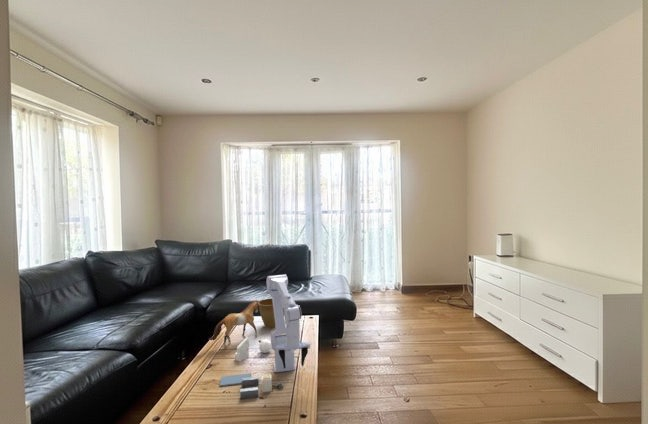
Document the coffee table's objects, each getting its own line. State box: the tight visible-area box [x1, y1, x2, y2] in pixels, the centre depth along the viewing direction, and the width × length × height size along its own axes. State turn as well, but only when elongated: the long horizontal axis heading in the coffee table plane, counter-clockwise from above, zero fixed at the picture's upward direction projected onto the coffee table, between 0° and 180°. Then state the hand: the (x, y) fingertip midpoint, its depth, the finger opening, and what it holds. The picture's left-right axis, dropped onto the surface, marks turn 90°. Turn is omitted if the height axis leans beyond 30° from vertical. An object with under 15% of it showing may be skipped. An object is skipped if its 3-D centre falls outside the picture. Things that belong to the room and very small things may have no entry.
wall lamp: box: [261, 373, 284, 393], centre depth 128 cm, size 9×4×5 cm, turn 101°
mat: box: [219, 372, 252, 388], centre depth 134 cm, size 13×7×1 cm, turn 101°
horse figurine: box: [208, 300, 260, 350], centre depth 174 cm, size 31×8×21 cm, turn 134°
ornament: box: [258, 338, 272, 354], centre depth 161 cm, size 6×7×7 cm
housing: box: [239, 376, 260, 400], centre depth 126 cm, size 7×10×3 cm
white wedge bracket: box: [234, 336, 250, 362], centre depth 155 cm, size 4×10×9 cm, turn 141°
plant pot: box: [257, 297, 276, 329], centre depth 198 cm, size 15×15×16 cm
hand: (293, 366), depth 130 cm, fingers open, 7 cm apart
